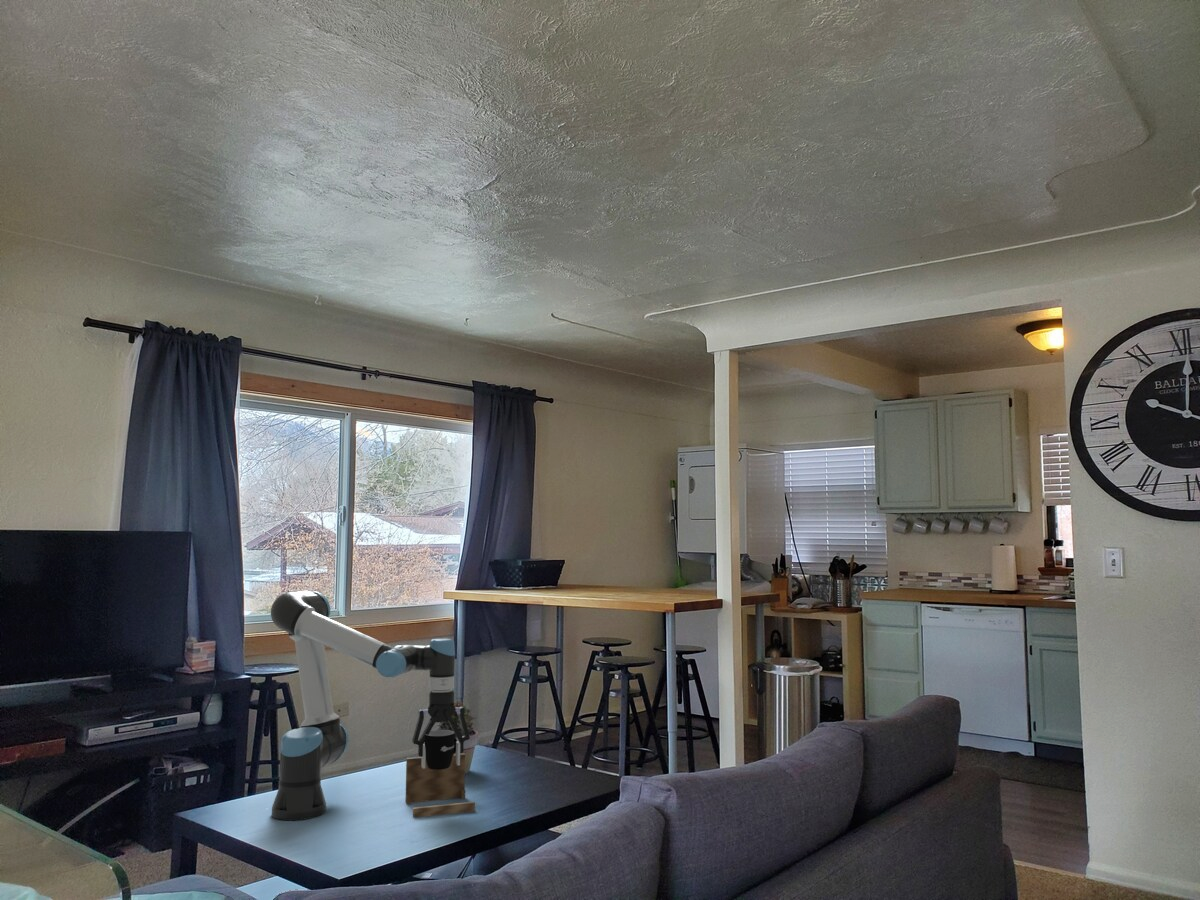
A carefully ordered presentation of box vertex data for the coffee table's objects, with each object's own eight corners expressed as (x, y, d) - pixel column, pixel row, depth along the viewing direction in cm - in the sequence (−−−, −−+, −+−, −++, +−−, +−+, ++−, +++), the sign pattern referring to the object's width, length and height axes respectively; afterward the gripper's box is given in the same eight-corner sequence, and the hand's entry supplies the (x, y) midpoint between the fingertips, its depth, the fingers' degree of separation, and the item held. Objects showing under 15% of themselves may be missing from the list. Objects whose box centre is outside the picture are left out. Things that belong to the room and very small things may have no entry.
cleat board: (413, 817, 252) (414, 770, 253) (405, 801, 268) (406, 758, 269) (474, 811, 258) (475, 765, 259) (463, 796, 274) (464, 753, 275)
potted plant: (461, 762, 318) (463, 692, 321) (490, 772, 303) (491, 699, 306) (417, 770, 306) (418, 697, 309) (445, 781, 292) (446, 704, 294)
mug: (439, 772, 257) (440, 737, 258) (417, 768, 262) (418, 733, 263) (467, 764, 267) (467, 730, 268) (445, 760, 272) (446, 727, 273)
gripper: (406, 694, 259) (404, 772, 257) (480, 689, 267) (479, 765, 264) (403, 690, 266) (401, 766, 264) (475, 686, 274) (474, 759, 271)
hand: (440, 765), depth 264 cm, fingers closed on mug, 10 cm apart
